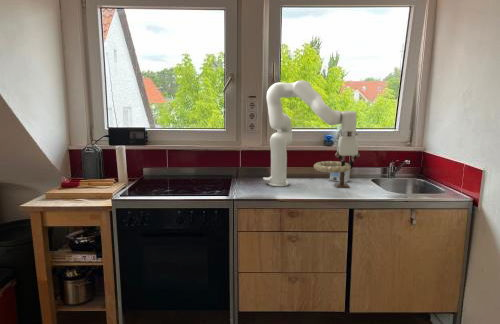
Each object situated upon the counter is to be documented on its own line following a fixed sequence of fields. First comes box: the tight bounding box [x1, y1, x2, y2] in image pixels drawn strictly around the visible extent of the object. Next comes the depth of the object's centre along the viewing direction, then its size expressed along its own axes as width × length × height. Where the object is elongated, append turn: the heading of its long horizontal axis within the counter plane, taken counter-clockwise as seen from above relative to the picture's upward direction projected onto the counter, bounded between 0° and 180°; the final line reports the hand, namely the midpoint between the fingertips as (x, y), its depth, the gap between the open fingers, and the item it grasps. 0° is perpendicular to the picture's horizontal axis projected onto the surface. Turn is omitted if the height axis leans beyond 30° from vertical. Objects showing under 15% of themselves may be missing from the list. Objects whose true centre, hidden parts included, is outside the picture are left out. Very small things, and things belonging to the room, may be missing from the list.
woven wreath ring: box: [313, 160, 352, 174], centre depth 187 cm, size 19×20×3 cm
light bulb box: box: [329, 169, 351, 183], centre depth 218 cm, size 11×7×11 cm, turn 55°
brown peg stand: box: [334, 172, 350, 189], centre depth 203 cm, size 7×7×11 cm
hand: (347, 167), depth 187 cm, fingers closed on woven wreath ring, 3 cm apart
